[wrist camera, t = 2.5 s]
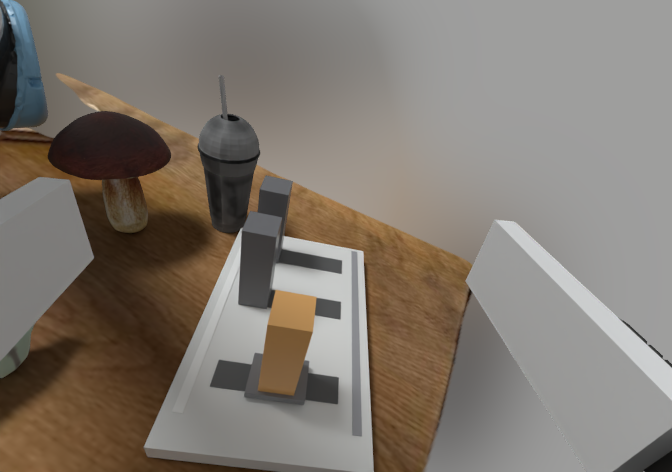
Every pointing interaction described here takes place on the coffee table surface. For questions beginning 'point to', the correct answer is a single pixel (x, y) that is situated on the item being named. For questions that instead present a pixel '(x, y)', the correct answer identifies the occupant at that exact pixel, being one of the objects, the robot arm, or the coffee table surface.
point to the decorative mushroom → (112, 161)
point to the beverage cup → (228, 166)
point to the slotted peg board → (249, 338)
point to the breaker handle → (284, 351)
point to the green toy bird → (16, 355)
